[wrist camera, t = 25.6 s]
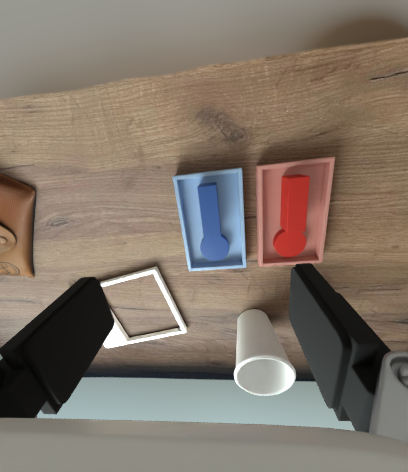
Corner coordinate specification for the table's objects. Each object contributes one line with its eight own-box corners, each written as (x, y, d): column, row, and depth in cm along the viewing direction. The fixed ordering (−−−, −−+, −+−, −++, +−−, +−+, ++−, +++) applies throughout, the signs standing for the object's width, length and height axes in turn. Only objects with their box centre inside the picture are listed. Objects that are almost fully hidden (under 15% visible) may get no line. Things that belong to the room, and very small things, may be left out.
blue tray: (240, 167, 26) (242, 167, 24) (244, 261, 31) (246, 267, 29) (175, 175, 27) (172, 176, 25) (190, 265, 32) (188, 271, 30)
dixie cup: (270, 340, 37) (286, 400, 28) (227, 333, 38) (229, 391, 28) (281, 306, 34) (304, 362, 25) (234, 300, 34) (240, 352, 25)
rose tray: (327, 156, 25) (335, 156, 23) (316, 256, 30) (322, 262, 28) (255, 165, 26) (258, 166, 24) (257, 260, 31) (259, 266, 29)
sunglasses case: (36, 281, 35) (-19, 296, 30) (21, 260, 38) (-31, 270, 33) (37, 187, 29) (-34, 183, 23) (19, 171, 31) (-47, 164, 26)
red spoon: (273, 176, 26) (280, 179, 23) (308, 172, 25) (319, 174, 22) (272, 254, 30) (277, 264, 27) (302, 252, 29) (310, 262, 27)
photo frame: (66, 293, 35) (154, 269, 32) (70, 289, 36) (156, 266, 33) (105, 349, 40) (186, 333, 37) (108, 344, 41) (187, 328, 38)
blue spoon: (192, 184, 27) (189, 187, 24) (223, 181, 26) (224, 183, 24) (202, 258, 31) (201, 268, 28) (229, 256, 31) (231, 266, 28)
